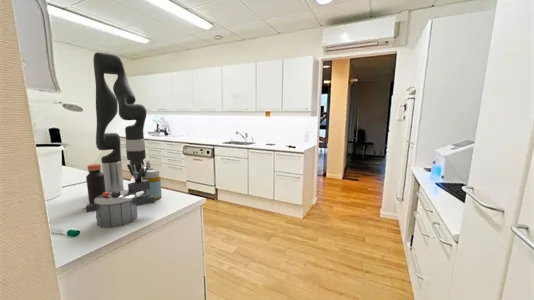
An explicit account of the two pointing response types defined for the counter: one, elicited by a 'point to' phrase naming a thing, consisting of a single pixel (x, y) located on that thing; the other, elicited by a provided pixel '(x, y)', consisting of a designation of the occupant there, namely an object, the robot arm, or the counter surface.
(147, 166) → the squeeze bottle
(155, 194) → the bottle
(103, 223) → the pot
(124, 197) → the lid
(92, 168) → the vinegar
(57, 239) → the counter surface
